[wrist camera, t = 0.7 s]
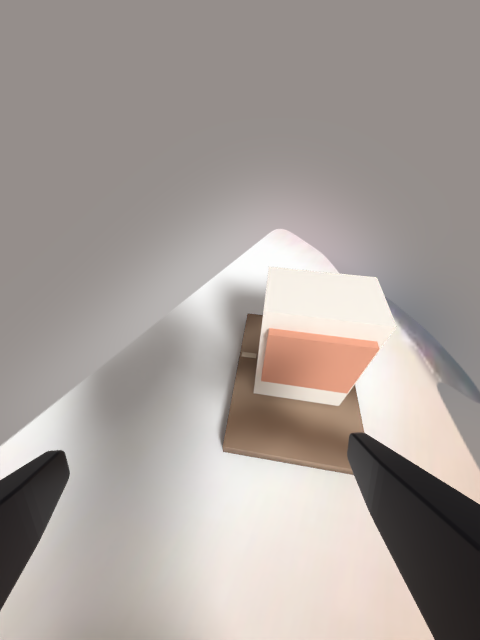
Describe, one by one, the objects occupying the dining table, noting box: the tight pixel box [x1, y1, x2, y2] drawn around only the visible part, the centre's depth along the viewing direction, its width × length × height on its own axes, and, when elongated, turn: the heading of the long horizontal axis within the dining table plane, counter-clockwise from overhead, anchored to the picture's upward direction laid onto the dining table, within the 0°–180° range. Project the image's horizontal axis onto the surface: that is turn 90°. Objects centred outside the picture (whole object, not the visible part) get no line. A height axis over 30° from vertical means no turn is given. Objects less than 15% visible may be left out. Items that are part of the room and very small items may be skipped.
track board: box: [223, 314, 364, 475], centre depth 25 cm, size 16×12×2 cm
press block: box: [254, 267, 397, 406], centre depth 20 cm, size 6×8×11 cm
